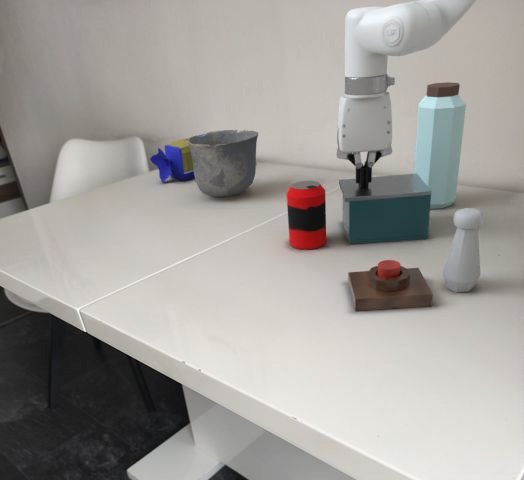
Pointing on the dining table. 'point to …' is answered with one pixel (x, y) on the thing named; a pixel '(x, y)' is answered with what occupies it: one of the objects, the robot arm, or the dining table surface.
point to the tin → (386, 219)
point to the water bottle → (440, 141)
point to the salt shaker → (464, 252)
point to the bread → (175, 161)
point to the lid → (385, 188)
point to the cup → (224, 161)
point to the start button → (389, 269)
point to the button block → (389, 290)
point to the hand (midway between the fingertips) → (363, 186)
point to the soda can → (306, 215)
